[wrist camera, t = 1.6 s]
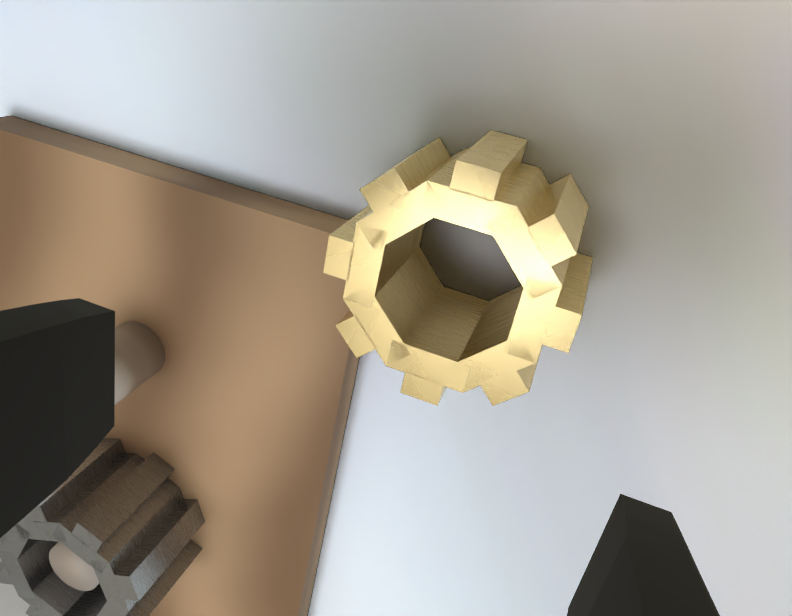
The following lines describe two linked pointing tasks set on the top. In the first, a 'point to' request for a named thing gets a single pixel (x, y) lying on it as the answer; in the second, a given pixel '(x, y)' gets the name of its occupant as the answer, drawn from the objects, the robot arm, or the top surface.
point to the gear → (105, 537)
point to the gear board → (196, 349)
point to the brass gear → (449, 309)
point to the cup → (11, 602)
